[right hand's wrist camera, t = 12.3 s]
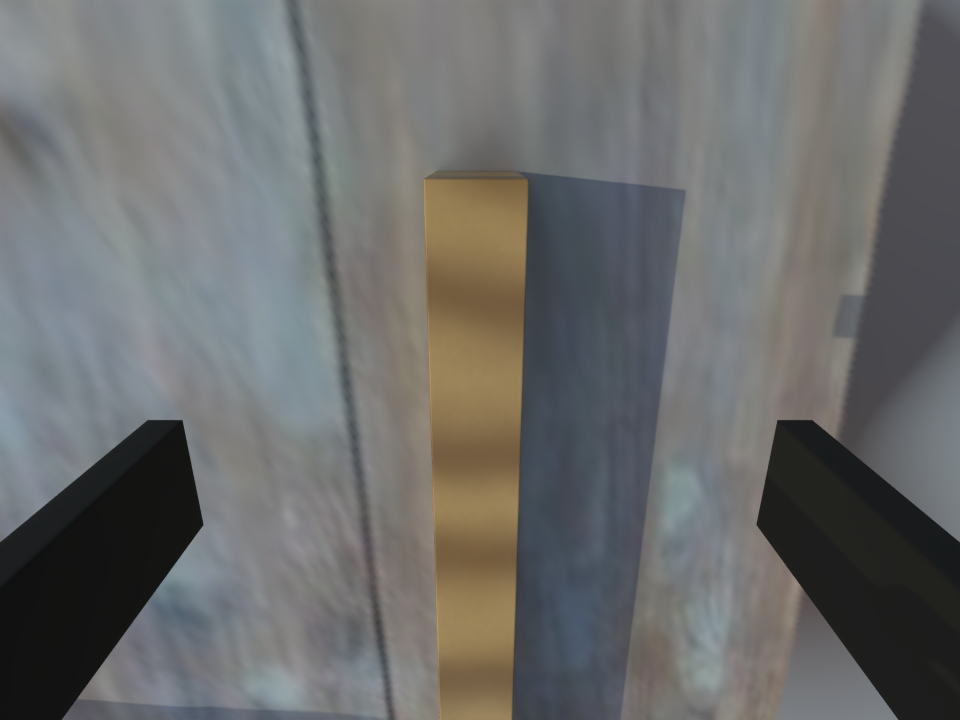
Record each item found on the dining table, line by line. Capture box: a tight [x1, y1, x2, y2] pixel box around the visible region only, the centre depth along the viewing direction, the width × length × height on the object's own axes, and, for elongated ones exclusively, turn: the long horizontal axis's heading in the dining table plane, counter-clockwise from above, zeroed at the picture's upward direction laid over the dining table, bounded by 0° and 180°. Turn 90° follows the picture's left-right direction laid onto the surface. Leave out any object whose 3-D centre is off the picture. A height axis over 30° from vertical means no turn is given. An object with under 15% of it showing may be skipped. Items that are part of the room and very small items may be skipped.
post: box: [423, 171, 529, 720], centre depth 40 cm, size 60×5×8 cm, turn 0°
